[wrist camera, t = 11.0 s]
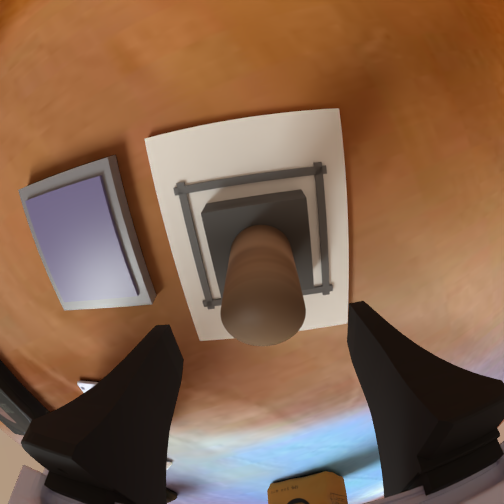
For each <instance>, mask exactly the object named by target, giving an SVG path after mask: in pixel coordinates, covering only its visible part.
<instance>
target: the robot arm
mask: <svg viewBox="0 0 504 504" xmlns="http://www.w3.org/2000/svg"><path fill="white" fill-rule="evenodd" d="M347 343H348V347H349V352H350V356H351V359H352V363H353V366H354V368H355V371H356V374H357V376H358V379H359V382H360V384H361V387H362V389H363V392H364V395H365V397H366V400H367V403H368V406H369V409H370V412H371V416H372V420H373V424H374V429H375V433H376V439H377V444H378V449H379V455H380V462H381V469H382V477H383V486H384V498H383V499H379V500H375V501H372V502H368V503H364V504H504V441H503V442H502V443H501V444H499V442H498V440H497V438H498V437H499V436H500V433H499V431H498V429H497V427H498V426H499V424H500V423H501V422H502V421H503V419H504V383H503V382H502V380H498V379H494V378H490V377H486V376H482V375H479V374H476V373H473V372H470V371H468V370H465V369H462V368H460V367H458V366H455V365H453V364H451V363H449V362H447V361H445V360H443V359H441V358H439V357H437V356H435V355H433V354H432V353H430V352H428V351H427V350H425V349H423V348H422V347H420V346H419V345H417V344H416V343H414V342H413V341H411V340H410V339H409V338H407V337H406V336H404V335H403V334H402V333H400V332H399V331H398V330H397V329H395V328H394V327H393V326H392V325H391V324H389V323H388V322H387V321H386V320H385V319H384V318H382V317H381V316H380V315H379V314H378V313H377V312H376V311H374V310H373V309H372V308H371V307H370V306H369V305H368V304H366V303H365V302H364V301H361V302H355V303H349V315H348V335H347ZM182 371H183V357H182V355H181V352H180V350H179V347H178V345H177V343H176V340H175V338H174V335H173V333H172V330H171V327H170V325H156V326H155V327H154V328H153V329H152V330H151V331H150V332H149V333H148V334H147V335H146V336H145V337H144V338H143V340H142V341H141V342H140V343H139V344H138V345H137V346H136V347H135V348H134V349H133V350H132V351H131V352H130V353H129V354H128V356H127V357H126V358H125V359H124V360H123V361H122V362H120V363H119V364H118V365H117V366H116V367H115V368H114V369H113V370H112V371H111V372H110V373H109V374H108V375H107V376H106V377H104V378H103V379H102V380H101V381H100V382H90V381H78V383H77V384H78V386H79V387H80V388H81V390H82V391H83V392H84V393H83V394H82V395H80V396H79V397H77V398H76V399H75V400H73V401H71V402H69V403H68V404H66V405H64V406H62V407H60V408H59V409H57V410H55V411H53V412H50V413H48V414H46V415H43V416H41V417H39V418H36V419H33V420H32V421H31V423H30V425H29V427H28V429H27V431H26V433H25V435H24V437H23V439H22V441H21V444H22V447H23V448H24V450H25V451H26V452H27V453H28V454H29V455H30V456H31V457H33V458H34V459H35V460H36V461H37V462H38V463H40V464H41V465H42V466H44V467H45V469H44V471H43V473H41V472H39V471H36V470H34V469H32V468H30V467H27V466H25V465H23V467H22V469H21V472H20V474H19V476H18V479H17V481H16V484H15V487H14V489H13V492H12V495H11V497H10V500H9V503H8V504H167V501H166V463H167V449H168V439H169V431H170V425H171V421H172V417H173V413H174V409H175V404H176V401H177V397H178V392H179V388H180V384H181V379H182Z"/></svg>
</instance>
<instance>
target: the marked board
mask: <svg viewBox="0 0 504 504" xmlns="http://www.w3.org/2000/svg"><path fill="white" fill-rule="evenodd" d="M145 144H146V149H147V153H148V158H149V163H150V167H151V172H152V176H153V180H154V185H155V189H156V193H157V197H158V201H159V205H160V209H161V213H162V217H163V221H164V225H165V229H166V232H167V236H168V240H169V243H170V247H171V251H172V254H173V258H174V261H175V264H176V268H177V271H178V275H179V278H180V281H181V285H182V288H183V291H184V294H185V297H186V301H187V304H188V307H189V310H190V313H191V316H192V319H193V322H194V325H195V328H196V331H197V334H198V337H199V340H200V341H208V340H220V339H232V338H234V337H233V336H231V335H230V334H229V333H228V332H227V330H226V329H225V327H224V325H223V323H222V321H221V315H220V311H221V304H222V299H221V295H220V291H219V287H218V283H217V279H216V275H215V271H214V267H213V263H212V259H211V255H210V251H209V247H208V242H207V238H206V234H205V230H204V225H203V221H202V217H201V212H202V210H203V208H204V207H205V205H206V203H212V202H218V201H224V200H230V199H237V198H243V197H249V196H256V195H263V194H270V193H277V192H284V191H292V190H299V189H301V190H302V191H303V193H304V194H305V196H306V198H307V208H308V218H309V228H310V240H311V252H312V265H313V279H314V289H308V290H302V294H303V298H304V303H305V308H306V316H305V320H304V323H303V325H302V327H301V328H300V329H299V331H302V330H309V329H315V328H322V327H328V326H335V325H341V324H347V320H348V288H349V240H348V208H347V189H346V173H345V160H344V149H343V139H342V129H341V120H340V112H339V108H335V109H319V110H306V111H295V112H285V113H276V114H268V115H260V116H253V117H246V118H240V119H234V120H228V121H222V122H217V123H211V124H206V125H201V126H196V127H191V128H187V129H182V130H178V131H173V132H169V133H165V134H161V135H157V136H153V137H149V138H145Z"/></svg>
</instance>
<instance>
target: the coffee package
mask: <svg viewBox="0 0 504 504" xmlns="http://www.w3.org/2000/svg"><path fill="white" fill-rule="evenodd" d="M267 492H268V504H348V502H347V495H346V489H345V484H344V479H343V477H342V476H338V475H337V474H335V473H333V472H328V471H324V472H321V473H317V474H313V475H309V476H305V477H300V478H294V479H289V480H285V481H282V482H277V483H271V484H270V486H269V488H268V491H267Z"/></svg>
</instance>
